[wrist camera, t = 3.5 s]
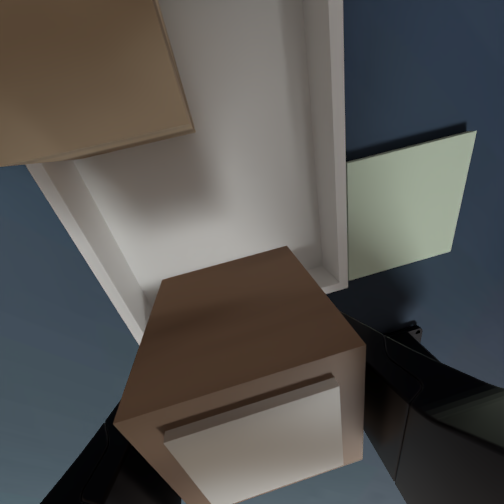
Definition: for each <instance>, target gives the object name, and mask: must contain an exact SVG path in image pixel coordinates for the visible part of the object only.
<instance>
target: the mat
mask: <svg viewBox="0 0 504 504" xmlns="http://www.w3.org/2000/svg"><path fill="white" fill-rule="evenodd" d="M476 132H477V131H467V132H463V133H459V134H455V135H451V136H447V137H443V138H439V139H435V140H431V141H427V142H423V143H419V144H415V145H411V146H407V147H403V148H399V149H395V150H391V151H387V152H383V153H379V154H376V155H372V156H368V157H364V158H360V159H356V160H352V161H348V162H346V203H347V258H348V280H349V281H350V280H354V279H357V278H360V277H364V276H367V275H371V274H374V273H378V272H381V271H385V270H388V269H391V268H395V267H398V266H402V265H405V264H409V263H412V262H416V261H419V260H422V259H426V258H429V257H433V256H436V255H440V254H443V253H447V252H450V251H451V246H452V242H453V237H454V233H455V228H456V224H457V219H458V214H459V210H460V205H461V201H462V196H463V192H464V187H465V182H466V178H467V173H468V169H469V164H470V160H471V155H472V150H473V146H474V141H475V137H476Z"/></svg>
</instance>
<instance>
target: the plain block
mask: <svg viewBox="0 0 504 504" xmlns="http://www.w3.org/2000/svg"><path fill="white" fill-rule="evenodd" d="M195 132H196V131H195V127H194V124H193V120H192V117H191V113H190V110H189V106H188V103H187V100H186V96H185V93H184V89H183V86H182V82H181V79H180V75H179V72H178V68H177V65H176V61H175V58H174V54H173V51H172V47H171V44H170V40H169V37H168V33H167V30H166V26H165V23H164V19H163V16H162V12H161V9H160V6H159V2H158V0H0V167H3V166H13V165H24V164H34V163H45V162H55V161H65V160H76V159H83V158H87V157H92V156H96V155H100V154H104V153H109V152H113V151H117V150H122V149H126V148H130V147H135V146H139V145H143V144H148V143H152V142H156V141H160V140H165V139H169V138H173V137H178V136H182V135H186V134H191V133H195Z"/></svg>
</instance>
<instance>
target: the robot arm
mask: <svg viewBox="0 0 504 504" xmlns="http://www.w3.org/2000/svg"><path fill="white" fill-rule="evenodd" d="M340 313H341V314H342V315H343V316H344V318H345V319H346V320H347V321H348V323H349V324H350V325H351V326H352V328H353V329H354V330H355V331H356V333H357V334H358V335H359V336H360V338H361V339H362V340H363V341H364V343H365V344H366V365H365V395H364V426H363V429H364V431H365V433H366V435H367V436H368V438H369V440H370V441H371V443H372V445H373V446H374V448H375V450H376V452H377V453H378V455H379V457H380V458H381V460H382V462H383V464H384V465H385V467H386V469H387V470H388V472H389V474H390V476H391V477H392V479H393V481H395V484H396V486H397V488H398V489H399V491H400V493H401V495H402V496H403V498H404V500H405V501H406V503H407V504H504V388H500V387H497V386H494V385H491V384H488V383H486V382H484V381H481V380H479V379H476V378H474V377H472V376H470V375H467V374H465V373H463V372H461V371H458V370H456V369H454V368H452V367H449V366H447V365H445V364H443V363H441V362H440V361H439V360H438V359H436V358H435V357H434V356H433V355H432V354H431V353H430V352H429V351H428V350H427V349H426V348H425V347H424V346H422V345H421V344H420V341H421V336H422V329H421V328H420V327H419V326H413V327H410V328H406V329H403V330H400V331H397V332H393V333H390V334H387V335H383V334H382V333H380V332H378V331H376V330H374V329H372V328H370V327H369V326H367V325H365V324H363V323H361V322H359V321H357V320H356V319H354V318H352V317H350V316H348V315H346V314H345V313H343V312H341V311H340ZM120 401H121V400H120ZM119 404H120V402H119V403H118V404H117V406H116V407H115V408H114V410H113V411H112V412H111V414H110V415H109V417H108V418H107V419H106V421H105V423H103V425H102V426H101V427H100V429H99V430H98V431H97V433H96V434H95V435H94V437H93V438H92V439H91V441H90V442H89V443H88V445H87V446H86V447H85V449H84V450H83V451H82V453H81V454H80V455H79V456H78V458H77V459H76V460H75V461H74V463H73V464H72V465H71V466H70V468H69V469H68V470H67V471H66V473H65V474H64V475H63V476H62V478H61V479H60V480H59V481H58V482H57V484H56V485H55V486H54V487H53V488H52V490H51V491H50V492H49V493H48V494H47V496H46V497H45V498H44V499H43V501H42V502H41V503H40V504H181V497H180V496H179V495H178V494H177V493H176V492H175V491H174V490H173V489H172V488H171V486H170V485H169V484H168V483H167V482H166V481H165V480H164V479H163V478H162V477H161V476H160V475H159V473H158V472H157V471H156V470H155V469H154V468H153V467H152V466H151V465H150V464H149V463H148V462H147V460H146V459H145V458H144V457H143V456H142V455H141V454H140V453H139V452H138V451H137V450H136V449H135V447H134V446H133V445H132V444H131V443H130V442H129V441H128V440H127V439H126V438H125V437H124V436H123V434H122V433H121V432H120V431H119V430H118V429H117V428H116V427H115V426H114V425H113V422H114V419H115V416H116V413H117V410H118V407H119Z"/></svg>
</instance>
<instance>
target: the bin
mask: <svg viewBox="0 0 504 504" xmlns="http://www.w3.org/2000/svg"><path fill="white" fill-rule="evenodd" d="M158 2H159V6H160V9H161V12H162V16H163V19H164V23H165V26H166V30H167V33H168V37H169V40H170V44H171V47H172V51H173V54H174V58H175V61H176V65H177V68H178V72H179V75H180V79H181V82H182V86H183V89H184V93H185V96H186V100H187V103H188V106H189V110H190V113H191V117H192V120H193V124H194V127H195V131H196V132H195V133H191V134H186V135H182V136H178V137H173V138H169V139H165V140H160V141H156V142H152V143H148V144H143V145H139V146H135V147H130V148H126V149H122V150H117V151H113V152H109V153H104V154H100V155H96V156H92V157H87V158H83V159H76V160H65V161H55V162H45V163H34V164H25V165H26V167H27V168H28V170H29V172H30V173H31V175H32V176H33V178H34V180H35V181H36V183H37V184H38V186H39V187H40V189H41V191H42V192H43V194H44V195H45V197H46V199H47V200H48V202H49V203H50V205H51V206H52V208H53V210H54V211H55V213H56V214H57V216H58V218H59V219H60V221H61V222H62V224H63V225H64V227H65V229H66V230H67V232H68V233H69V235H70V236H71V238H72V240H73V241H74V243H75V244H76V246H77V248H78V249H79V251H80V252H81V254H82V255H83V257H84V259H85V260H86V262H87V263H88V265H89V267H90V268H91V270H92V271H93V273H94V274H95V276H96V278H97V279H98V281H99V282H100V284H101V286H102V287H103V289H104V290H105V292H106V293H107V295H108V297H109V298H110V300H111V301H112V303H113V304H114V306H115V308H116V309H117V311H118V312H119V314H120V316H121V317H122V319H123V320H124V322H125V323H126V325H127V327H128V328H129V330H130V331H131V333H132V335H133V336H134V338H135V339H136V341H137V342H138V344H139V346H140V343H141V340H142V337H143V334H144V331H145V328H146V325H147V323H148V320H149V317H150V314H151V311H152V308H153V305H154V302H155V299H156V296H157V293H158V290H159V288H160V285H161V282H162V280H163V279H167V278H170V277H174V276H178V275H181V274H185V273H189V272H192V271H196V270H199V269H203V268H207V267H210V266H214V265H218V264H221V263H225V262H229V261H232V260H236V259H240V258H243V257H247V256H251V255H254V254H258V253H262V252H265V251H269V250H272V249H276V248H280V247H283V246H288V248H289V249H290V250H291V251H292V253H293V254H294V255H295V256H296V258H297V259H298V260H299V261H300V263H301V264H302V265H303V266H304V268H305V269H306V270H307V271H308V273H309V274H310V275H311V276H312V278H313V279H314V280H315V281H316V283H317V284H318V285H319V286H320V288H321V289H322V290H323V291H324V293H325V294H328V293H332V292H335V291H339V290H342V289H345V288H348V258H347V203H346V147H345V92H344V36H343V0H158Z"/></svg>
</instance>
